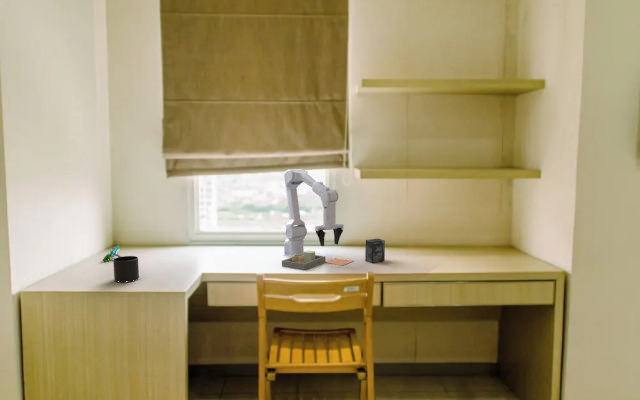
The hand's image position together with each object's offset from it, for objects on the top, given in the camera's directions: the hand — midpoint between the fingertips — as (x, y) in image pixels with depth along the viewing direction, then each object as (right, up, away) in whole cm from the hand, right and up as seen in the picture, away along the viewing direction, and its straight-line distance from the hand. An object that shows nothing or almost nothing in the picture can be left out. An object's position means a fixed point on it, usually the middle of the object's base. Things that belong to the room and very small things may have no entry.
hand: (329, 245), depth 213 cm
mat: (+5, -9, +4) cm, 11 cm away
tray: (-12, -9, +1) cm, 15 cm away
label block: (-14, -9, -3) cm, 17 cm away
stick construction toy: (-106, -9, +11) cm, 107 cm away
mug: (-85, -12, -22) cm, 89 cm away
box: (+22, -9, +8) cm, 25 cm away
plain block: (-9, -9, +5) cm, 14 cm away
